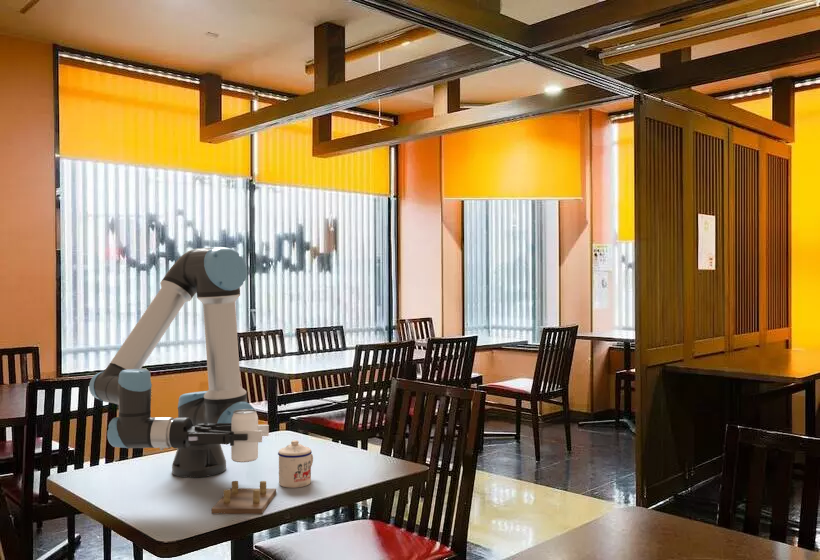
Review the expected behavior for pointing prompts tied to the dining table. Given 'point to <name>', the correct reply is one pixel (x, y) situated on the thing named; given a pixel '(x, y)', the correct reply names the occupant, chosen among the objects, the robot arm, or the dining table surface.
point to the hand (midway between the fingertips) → (264, 433)
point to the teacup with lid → (295, 465)
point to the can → (244, 422)
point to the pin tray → (244, 500)
